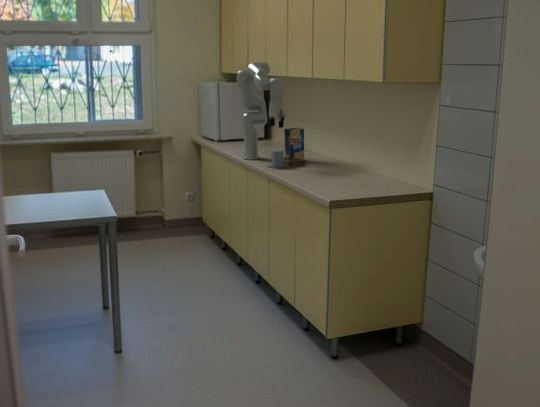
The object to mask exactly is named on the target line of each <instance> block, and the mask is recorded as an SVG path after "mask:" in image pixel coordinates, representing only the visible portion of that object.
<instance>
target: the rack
mask: <svg viewBox="0 0 540 407" xmlns="http://www.w3.org/2000/svg"><path fill="white" fill-rule="evenodd" d="M290 160H291V161H286V160H284V166H286V167H289V168H297V167H296V166H298V167H302V166H303V167H304V165H305V166H306V160H305V159H304V160H303V159H298V158H293V157H290Z"/></svg>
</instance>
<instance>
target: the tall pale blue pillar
mask: <svg viewBox="0 0 540 407" xmlns="http://www.w3.org/2000/svg"><path fill="white" fill-rule="evenodd" d="M270 156H271V157H270V158H271V159H270V160H271V161H270V162H271V165H272V167H274V168H276V167H283V166H284V157H285V150H281V149H278V150H271V154H270ZM274 168H273V169H274Z"/></svg>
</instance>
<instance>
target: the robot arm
mask: <svg viewBox="0 0 540 407" xmlns="http://www.w3.org/2000/svg"><path fill="white" fill-rule="evenodd" d="M270 70H271V69H270V66H269V63H267V62H264V61H261V62H257V61H256V62H251V63H249V64H248V66H247V68H245V69H241V70H238V71H237V74H236V82H237V86H238V88H239V91H240V92H239V93H240V97H241V98H240V100H241V105H242V109H243V110H244V111H248V112H245V113H243V114H242V115H241V121H242V127H243V143H244V144H243V145H244V147H243V149H244V151H243V156H242V158H241V159H243V160H251V161H252V160H259V159H261V158H262V157H261V155H259V134H258V130H257V129H256V128H255V127H260V126H265V125H267V123H268V117H269V126H270V127H275V125H276V122H275V121H276V119H277V118H278V128H284V126H285V125H284V121H285V118H286V113H285V112H284V103H283V102H284V101H283V98H284V97H283V94H284V92H283V91H284V90H283V89H284V88H283V79H282V78H279V77H268V75H269V74H270ZM249 83H253V84H254V86H255V87H256V89H258V90H260V91H269V92H270V94H269V95H270V101H269V105H268V106H269V107H268V112H267V105H266V100H265V98H264V96H262V95H254V89H253V88H252V86H251V85H250V84H249ZM267 114H268V115H267Z"/></svg>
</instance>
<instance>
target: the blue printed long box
mask: <svg viewBox="0 0 540 407" xmlns="http://www.w3.org/2000/svg"><path fill="white" fill-rule="evenodd" d="M284 157H293V158H298V159H303V160H305V129H304V127H290V128H284Z"/></svg>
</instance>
